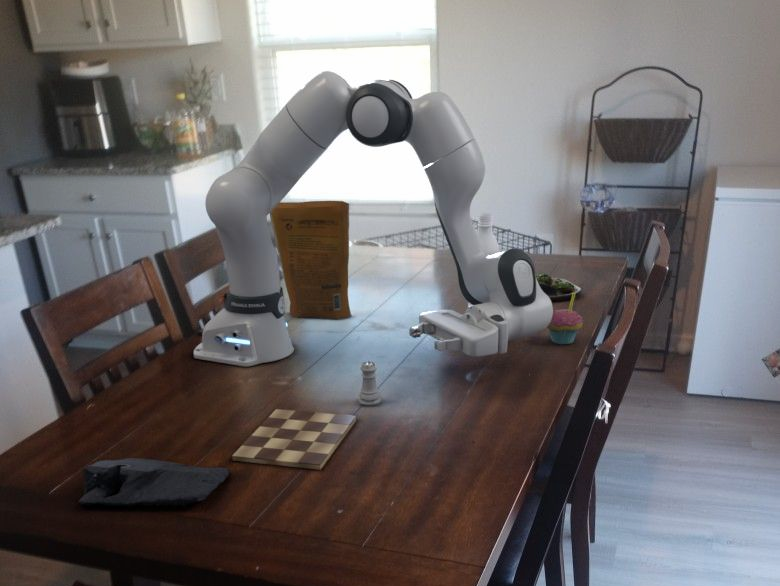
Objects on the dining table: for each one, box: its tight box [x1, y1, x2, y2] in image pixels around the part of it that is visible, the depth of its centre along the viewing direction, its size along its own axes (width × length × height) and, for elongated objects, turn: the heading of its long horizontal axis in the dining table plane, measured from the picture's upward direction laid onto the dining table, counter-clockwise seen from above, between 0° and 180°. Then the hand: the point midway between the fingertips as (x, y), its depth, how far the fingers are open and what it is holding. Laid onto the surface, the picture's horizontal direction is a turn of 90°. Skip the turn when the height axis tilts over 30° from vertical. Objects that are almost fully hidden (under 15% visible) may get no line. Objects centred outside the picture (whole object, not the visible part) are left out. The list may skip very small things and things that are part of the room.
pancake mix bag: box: [269, 200, 352, 320], centre depth 204 cm, size 7×19×28 cm, turn 75°
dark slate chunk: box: [78, 457, 230, 508], centre depth 135 cm, size 15×22×5 cm
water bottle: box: [467, 212, 501, 308], centre depth 197 cm, size 7×7×25 cm
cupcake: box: [546, 289, 585, 345], centre depth 187 cm, size 9×8×12 cm
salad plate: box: [536, 273, 582, 303], centre depth 222 cm, size 19×18×5 cm
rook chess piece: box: [358, 360, 382, 407], centre depth 162 cm, size 4×4×8 cm
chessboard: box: [231, 408, 357, 471], centre depth 150 cm, size 16×20×1 cm
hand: (423, 339), depth 164 cm, fingers open, 8 cm apart
